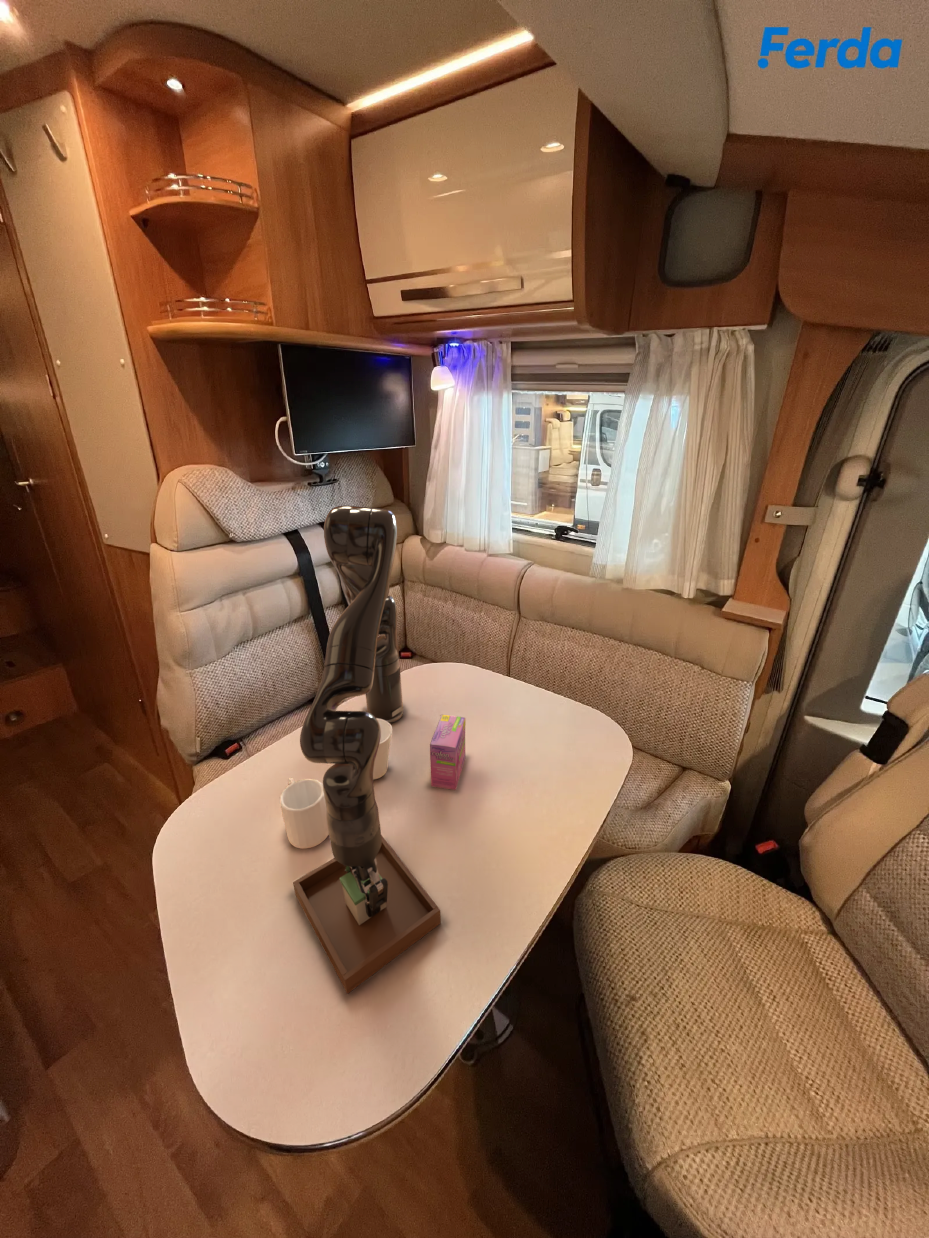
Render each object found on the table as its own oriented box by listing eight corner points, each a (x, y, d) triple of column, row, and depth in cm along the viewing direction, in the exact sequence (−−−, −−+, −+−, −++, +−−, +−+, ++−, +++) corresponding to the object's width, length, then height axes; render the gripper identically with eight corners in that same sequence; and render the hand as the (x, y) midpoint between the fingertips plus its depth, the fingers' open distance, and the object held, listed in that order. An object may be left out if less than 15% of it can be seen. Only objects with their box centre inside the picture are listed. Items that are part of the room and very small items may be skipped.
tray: (295, 894, 85) (292, 881, 84) (380, 843, 95) (379, 831, 93) (347, 994, 71) (344, 980, 70) (441, 923, 81) (440, 909, 79)
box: (456, 790, 107) (455, 747, 102) (430, 787, 108) (428, 743, 103) (466, 758, 116) (465, 716, 111) (442, 755, 117) (440, 713, 112)
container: (343, 902, 83) (339, 877, 80) (372, 883, 86) (369, 859, 83) (358, 927, 79) (354, 902, 77) (388, 907, 82) (385, 882, 80)
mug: (313, 797, 105) (306, 761, 101) (337, 834, 97) (331, 796, 92) (275, 816, 101) (266, 779, 97) (297, 856, 92) (288, 817, 88)
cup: (342, 771, 112) (336, 732, 107) (377, 750, 119) (373, 712, 114) (369, 794, 106) (364, 753, 101) (405, 769, 113) (401, 730, 108)
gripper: (400, 842, 72) (407, 918, 79) (354, 785, 82) (364, 857, 89) (353, 871, 67) (365, 948, 75) (311, 807, 78) (325, 881, 85)
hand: (364, 898), depth 82 cm, fingers closed on container, 5 cm apart
